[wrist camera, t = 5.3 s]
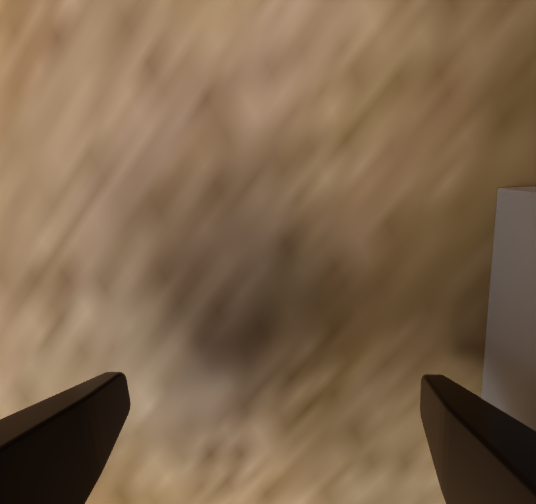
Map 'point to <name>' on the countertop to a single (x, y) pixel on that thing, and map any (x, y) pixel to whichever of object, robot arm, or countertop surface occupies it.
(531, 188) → the slate block
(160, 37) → the countertop surface
